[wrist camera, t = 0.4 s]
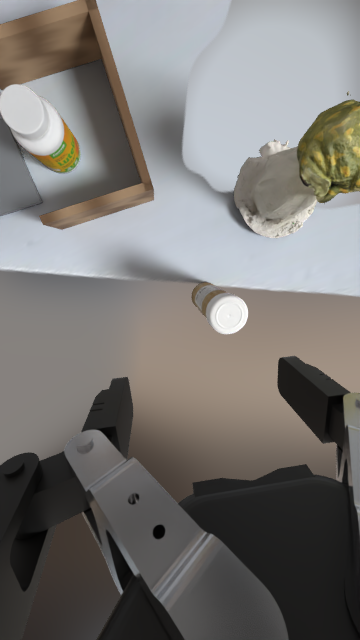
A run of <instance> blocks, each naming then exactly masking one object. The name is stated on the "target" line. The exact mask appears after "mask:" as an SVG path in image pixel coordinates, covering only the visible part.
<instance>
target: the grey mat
mask: <svg viewBox="0 0 360 640" xmlns="http://www.w3.org/2000/svg"><path fill="white" fill-rule="evenodd" d="M40 203H43V202H42V200H41V197H40V195H39V193H38V191H37V188H36V186H35V184H34V182H33V179H32V177H31V175H30V172H29V170H28V168H27V166H26V163H25V161H24V159H23V157H22V154H21V152H20V150H19V147H18V145H17V143H16V141H15V138H14V136H13V134H12V132H11V129H10V127H9V126H8V125H7V123H6V122H5V121H4V119H0V216H3V215H6V214H9V213H12V212H15V211H18V210H21V209H24V208H28V207H31V206H34V205H37V204H40Z"/></svg>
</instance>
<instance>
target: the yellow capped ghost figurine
mask: <svg viewBox="0 0 360 640" xmlns="http://www.w3.org/2000/svg"><path fill="white" fill-rule="evenodd" d="M348 94H349V91H348V92H347V95H348ZM288 143H289V141H287V142H286V144H285V145H282V144H280V142H279V141H276V140H274V142H268V143H267V144H266V145H264V146H263V147H261V148H260V150H259V151H260V153H261V156H262V157H257V158H250V157H249V158H248V159H247V160H246V162H245V163H244V165H243V166H242V167H241V170H240V174H239V175H238V176H239V177H238V180H237V183H236V186H235V188H234V201H235V204H236V207H237V208H239V210H240V212H241V214H242V216H243V218H244V220H245V222H246V223H247V224H248V226H249V227H250V228H251V229H252V230H253V231H255V232H256V233H257V234H260V235H262V236H265V237H270V238H280V237H284V236H287V235H289V234H291V233H295V232H296V231H298V230H299V228H301V227H302V226H303V222H304V221H305V220H306V219H308V218H309V216H310V215H311V214H312V213H313V211H314V207H315V204H316V203H317V201H318V202H319V203H325V202H327V201H330V200H331V199H332V198H334V197H335V196H336V195H337V194H338V193H349V192H355V191H360V102H358V101H355V100H348V101H344V102H342V103H340V104H338V105H336V106H334V107H332V108H329V109H328V110H326V111H324V112H322V113H320V114H319V115H318V117H317V118H316V120H315V121H314V123H313V124H312V125H311V127H310V128H309V129H308V130H307V132H306V133H305V134H304V136H303V137H302V138H301V140H300V141H299V144H298V147H295V148H291V149H290V148H289V147H287V145H288Z"/></svg>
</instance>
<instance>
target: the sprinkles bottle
mask: <svg viewBox="0 0 360 640" xmlns="http://www.w3.org/2000/svg"><path fill="white" fill-rule="evenodd" d="M192 301H193V303H194V305H195V306H196V307H198V309H199V311H200V312H201V313H202V314H203V315H204V316H205V317H206V318H207V321H208V323H209V324H210V325H211V327H212V328H213V329H215V330H216V331H217V332H219V333H222V334H232V333H235V332H237V331H238V330H240V329H241V328H242V327H243V326H244V325H245V323H246V321H247V318H248V309H247V306H246V304H245V302H244V301H243V300H242V299H240V298H239V297H237V296H236V295H234V294H231V293H227V292H226V291H224V290H222V289H220V288H218V287H216V286H214V285H213V284H211V283H207V282H205V283H201V284H199V285H197V286H196V287H195V288H194V290H193V292H192Z"/></svg>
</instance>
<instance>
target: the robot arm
mask: <svg viewBox="0 0 360 640" xmlns="http://www.w3.org/2000/svg"><path fill="white" fill-rule="evenodd" d="M278 389H279V392H280V394H281V396H282V397H283V398H284V399H285V400H286V401H287V403H288V404H289V405H290V406H291V407H292V408H293V410H294V411H295V412H296V413H297V414H298V415H299V416H300V418H301V419H302V420H303V421H304V422H305V423H306V424H307V426H308V427H309V428H310V429H311V430H312V432H313V433H314V434H315V435H316V436H317V437H318V438H319V440H320V441H321V442H322V443H323V444H324V443H330V442H335V443H336V444H337V448H336V475H337V476H336V480H334V479H332V478H328V477H324V476H320V475H313V473H312V472H311V471H310V469H309V468H308V466H307V465H306V464H305V465H299V466H293V467H287V468H281V469H277V470H275V471H273V472H271V473H269V474H267V475H265V476H263V477H261V478H258V479H256V480H253V481H249V480H237V479H226V478H220V479H214V480H207V481H201V482H194V483H193V493H194V494H192V495H190V496H188V497H186V498H185V499H183V500H182V501H180V502H179V503H177V502H176V501H175V500H174V499H173V498H172V497H171V496H170V495H169V494H168V493H167V492H166V491H165V490H164V489H163V488H162V486H161V485H160V484H159V483H158V482H157V481H156V480H155V479H154V478H153V477H152V476H151V475H150V474H149V472H148V471H147V470H146V469H145V468H144V467H143V466H142V465H141V464H140V463H139V462H138V461H137V460H136V459H135V458H133V457H131V458H130V459H128V460H127V456H128V448H129V441H130V434H131V427H132V419H133V403H132V398H131V391H130V386H129V380H128V377H123V378H116V379H112V381H111V385H110V388H109V389H107V390H102V391H101V392H100V393H99V394H98V395H97V396H96V397H95V400H94V402H93V406H92V407H91V410H90V412H89V414H88V417H87V419H86V422H85V424H84V427H83V429H82V432H81V433H79V434H77V435H76V436H74V437H73V438H72V439H71V440H70V441H69V442H68V443H67V445H66V447H65V450H64V451H63V452H62V453H59V454H57V455H54V456H52V457H49V458H47V459H44V460H41V461H39V458H38V456H37V455H36V454H34V453H23V454H19V455H17V456H14V457H12V458H11V459H9V460H7V461H6V462H4V463H3V464H2V465H0V640H22V637H23V633H24V630H25V627H26V624H27V620H28V617H29V613H30V610H31V607H32V603H33V600H34V597H35V594H36V591H37V587H38V584H39V581H40V578H41V574H42V571H43V568H44V564H45V561H46V558H47V554H48V551H49V548H50V545H51V541H52V538H53V535H54V532H55V528H56V525H57V524H59V523H61V522H63V521H64V520H67V519H69V518H71V517H73V516H75V515H77V514H79V513H81V512H82V514H83V516H84V518H85V520H86V522H87V523H88V526H89V527H90V529H91V531H92V533H93V535H94V537H95V539H96V541H97V543H98V545H99V547H100V549H101V551H102V553H103V555H104V557H105V560H106V562H107V565H108V567H109V570H110V572H111V575H112V577H113V579H114V581H115V584H116V586H117V588H118V590H119V592H120V594H121V597H120V599H119V600H118V602H117V604H116V606H115V607H114V609H113V611H112V613H111V615H110V616H109V618H108V620H107V622H106V623H105V625H104V627H103V629H102V631H101V633H100V634H99V636H98V638H97V639H96V640H360V393H350V392H349V391H348V390H346V389H345V388H344V387H342V386H341V385H340V384H338V383H337V382H335V381H334V380H333V379H331V378H330V377H328V376H327V375H325V374H324V373H323V372H322V371H320V370H319V369H318V368H316V367H313V366H311V365H309V364H305V363H304V362H303V361H301V360H300V359H299V358H297V357H296V356H290V357H282V358H280V359H279V362H278Z"/></svg>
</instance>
